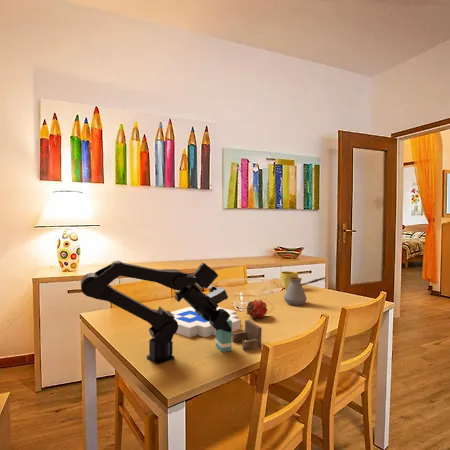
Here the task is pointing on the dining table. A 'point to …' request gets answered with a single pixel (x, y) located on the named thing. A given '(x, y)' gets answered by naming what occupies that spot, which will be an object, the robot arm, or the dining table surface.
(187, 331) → the stepped white slab
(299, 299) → the coffee pot
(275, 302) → the dining table surface
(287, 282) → the plant pot
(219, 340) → the book
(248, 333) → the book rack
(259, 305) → the dragon fruit
